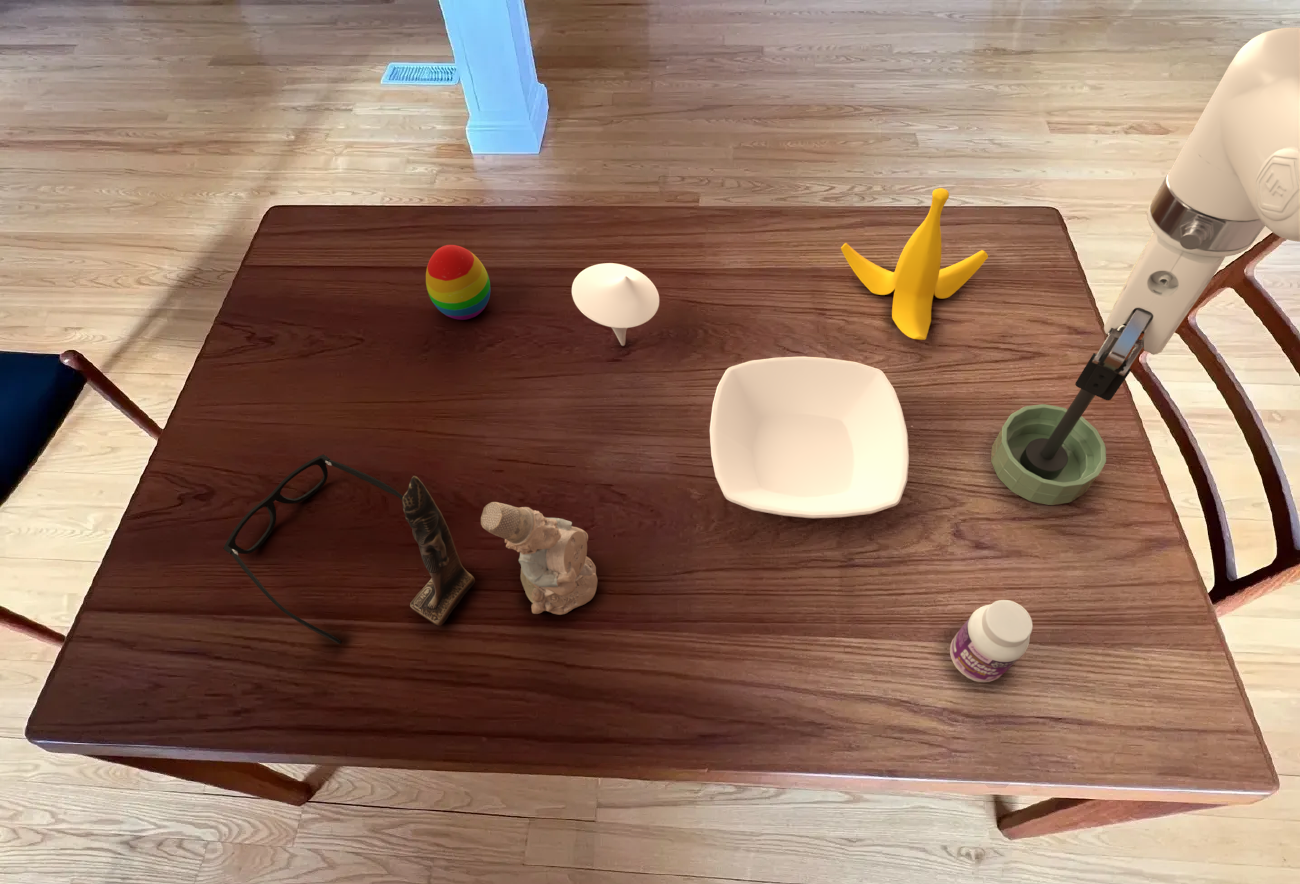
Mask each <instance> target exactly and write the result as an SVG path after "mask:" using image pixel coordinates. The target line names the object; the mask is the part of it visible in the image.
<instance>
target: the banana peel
mask: <svg viewBox="0 0 1300 884" xmlns="http://www.w3.org/2000/svg"><path fill="white" fill-rule="evenodd" d="M949 197H950V193H949V191H948V189H946V188H943V187H938V188H936V189H934V190H932V194H931V205H930V208H929V211H928V214H927V215H926V217H925V219H924V220H923V221H922V223H921V224H920V225H919V226H918V227H917V228H916V230H915V231H914V232H913V233H912V234H911V236H910V238H909V239H908V240H907V242H906V243H905V246H904V247H903V249H902V251H901V253H900V256H899V258H898V260H897V263H896V266H895V270H894V271H891V270H888V269H886V268H883V267H881V266H880V265H878V264H876V263H873V262H872V261H870V260H869V259H867V258H866V257H864V256H862V255H861V254H860V253H859V252H857V251H856V250H855V249H854V248H852V247H851V246H850V245H849V243H847V242H845V243H843V245H842V246H841V247H840V251H841V252H842V254H843V257H844V258H845V260H846V262H847V264H848V265H849V267H850V268H851V270H852V271H853V273H854V275H856V277H857V278H858V280H860V282H861V283H862V284H863V285H864V287H866V288H867V289H868V290H869V292H871V293H872V294H874V295H880V296H885V295H890V294H891V293H893V298H892V308H891V319H892V320H893V322H894V324H895V325H896V327H897V328H898V329H899V330H900V332H901V333H902V334H904V335H905V336H907V337H908V338H910V339H912V340H920V341H925V340H926V339H927V337H928V333H929V329H930V326H931V322H932V306H933V300H934V296H935V298H937V299H947V298H950V297H951V296H952V295H954V294H955V293H956V292H957V291H958V290H959V289H960V288H962V287H963V286H964V284H966V283H967V282H968V280H970V279H971V277H973V275H975V273H976V272H978V270H979V269H980V268H981V267H982V266H983V264H984V263H985V262H986V260H987V259H988V258H989V255H988V253H987V252H986V251H985V250H983V249H981V250H979V251H978V252H976V253H974V254H972V255H970V256H968V257H967V258H965V259H963V260H961V261H959V262H956V263H954V264H952V265H949V266H946V267H943V268H941V264H942V249H943V248H942V230H941V218H942V217H941V216H942V211H943V209H944V206H945V205H946V203H947V201H948V200H949Z"/></svg>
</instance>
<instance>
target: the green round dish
mask: <svg viewBox="0 0 1300 884" xmlns="http://www.w3.org/2000/svg"><path fill="white" fill-rule="evenodd" d="M1067 410H1068V408H1065V407H1062V406H1057V405H1051V404H1045V403H1043V404H1042V403H1041V404H1034V405H1033V404H1032V405H1025V406H1023V407H1022V408H1020V409H1018V410H1016V411H1015V412H1013V413H1011V414H1009V416H1008V418H1007V419H1006V421H1005V422H1004V424H1003V425H1002V426H1001V429H1000V431H999V433H998V434H997V436H996V437H995V440H994V441H993V444H992V445H991V452H990V463H991V465H992V467H993V469H994V471H995V474H996V477H997V478H998V479H999V480H1000V481H1001V482H1002V483H1003V484H1004V485H1005V487H1007V489H1008V490H1009V491H1010V492H1011V493H1013V494H1015V495H1017V496H1019V497H1020V498H1023V499H1025V500H1026V501H1028V502H1032V503H1037V504H1043V505H1047V506H1055V505H1063V504H1069V503H1071V502H1074V501H1075V500H1076V499H1078V498H1080V497H1082V496H1084V494H1086V492H1087V491H1088V490H1089V488H1090V487H1091V486H1092V485H1093V483H1094V482H1095V481H1096V480H1097V478H1098V477H1099V475H1100V474H1101V472H1102V470H1103V469H1104V466H1105V465H1106V463H1107V448H1106V447H1107V446H1106V444H1105V441H1104V440H1103V438H1102V436H1101V435H1100V433H1099V431H1098V430H1097V428H1095V426H1094V425H1092V424H1091V423H1090V422H1089V421H1088V420H1087V419H1086V418H1084V417H1083V415H1082V416H1081V417H1080V419H1079V420H1078V422H1077V423H1076V425H1075V426H1074V427H1073V429H1072V430H1071V432H1070V433H1069V435H1068V436H1067V438H1066V439H1065V441H1064V442H1063V444H1062V445H1061V446H1062V447H1063V448H1064V449H1065V451H1066V453H1067V456H1068V462H1067V464H1066V466H1065V467H1064V469H1063V470H1062V472H1061V473H1060V474H1059V476H1058V477H1056V478H1054V479H1052V480H1047V479H1043V478H1041V477H1039V476H1037V475H1035V474H1033V473H1031V472H1029V471H1028V470H1026V469H1025V468H1024V467H1023V466H1022V465H1021V462H1020V458H1021V455H1022V453H1023V451H1024V450H1025V448H1026V447H1027V445H1028V444H1029V443H1030V442H1031V441H1032V440H1035V439H1039V438H1046V439H1049V438H1050V436H1051V435H1052V433H1053V432H1054V430H1055V428H1056V427H1057V425H1058V424H1059V422H1060V421H1061V419H1062V418H1063V416H1064V414H1065V413H1066V411H1067Z"/></svg>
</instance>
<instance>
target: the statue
mask: <svg viewBox="0 0 1300 884" xmlns="http://www.w3.org/2000/svg"><path fill="white" fill-rule="evenodd" d="M402 496H403V499H402V500H401V503H402V511H403V513H404V515H405V518H404V519H405V521H406V522H407V523H408V524H409V527H410V528H411V529H412V536H413V539H414V540H415V541H416V543H417V544H418V545H417V546H418V548H419V552H420V556H421V560H422V562H423V564H424V566H425V568H426V570H427V572H428V573H429V575H430V577H431V578H430V580H429V581H427V583H426V584H425V586H424V587H423V588H422V589H420V591H419V592H418V593H417V594H416V595H415V597H414V598H413V599H412V600H411V602H410V605H409V607H410V609H411V610H412V611H414V612H416V614H418V615H420V616H421V617H423V618H424V619H426V620H427V621H429V622H430V623H431V624H433V625H435V626H436V627H437V626H438V627H441V626H442V625H444V624H445V623H446V621H447V620H448V618H449V616H450V615H451V613H452V612H453V610H454V609H455V608H456V607H457V605H459V604H460V602H461V600H462V599H463V598H464V596H465V595H466V594H467V593H468V592H469V591H470V590H471V588H472V587H473V586H474V585H475V582H476V579H475V577H474V575H472V574H471V573H470V572H469V571H467V570H466V569H465V567H464V566H463V564H462V562H461V559H460V556H459V554H458V552H457V549H456V545H455V543H454V540H453V539H454V538H453V537H452V534H451V531H450V528H449V526H448V524H447V522H446V519H445V518H444V516H443V513H442V512H441V510H440V509H439V507H438V505H437V503H436V501H435V500H434V498H433V497H432V495H431V494H430V492H429V490H428V489H427V487H426V486H425V485H424V483H423V482H422V480H421V479H420V478H419V477H418V476H416V475H413V476H412V477H411V479H410V481H409V483H408V487H407V490H406V492H405V493H404V494H403V495H402Z"/></svg>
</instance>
